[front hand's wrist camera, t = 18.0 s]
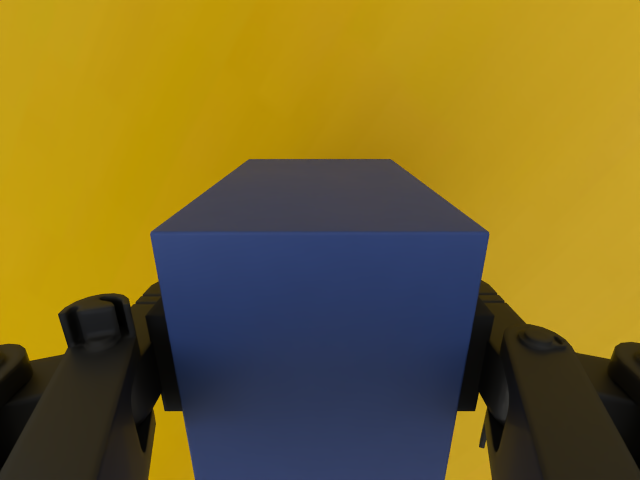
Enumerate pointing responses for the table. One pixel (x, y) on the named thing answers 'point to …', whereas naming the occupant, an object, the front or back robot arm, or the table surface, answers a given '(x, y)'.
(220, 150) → the table surface
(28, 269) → the table surface
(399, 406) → the brick
